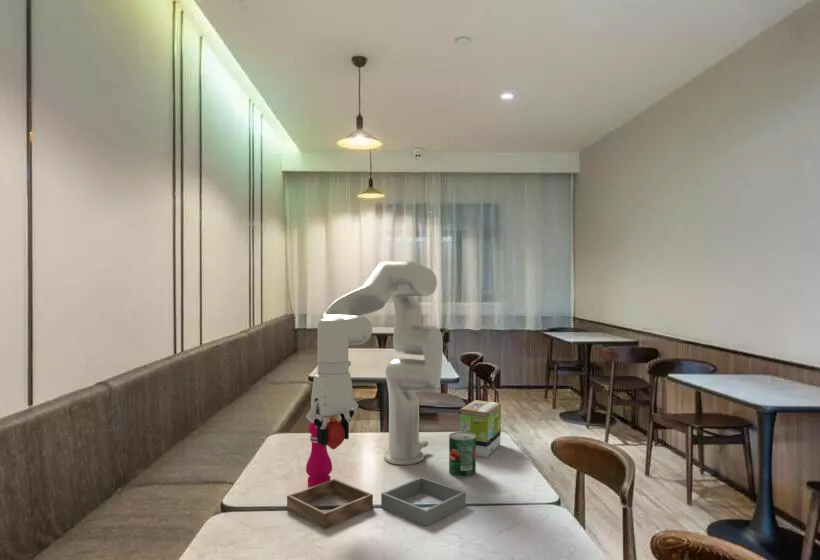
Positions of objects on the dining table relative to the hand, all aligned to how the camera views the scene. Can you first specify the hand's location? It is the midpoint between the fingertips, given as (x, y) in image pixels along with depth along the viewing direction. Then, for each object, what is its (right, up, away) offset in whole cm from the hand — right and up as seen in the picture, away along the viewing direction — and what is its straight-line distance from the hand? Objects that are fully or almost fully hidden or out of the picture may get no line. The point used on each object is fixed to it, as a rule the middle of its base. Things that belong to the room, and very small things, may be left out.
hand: (333, 440), depth 132 cm
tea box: (+43, -17, +47) cm, 66 cm away
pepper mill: (-6, -17, +17) cm, 25 cm away
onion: (0, -2, 0) cm, 2 cm away
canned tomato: (+34, -17, +25) cm, 46 cm away
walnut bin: (-1, -17, +1) cm, 17 cm away
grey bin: (+22, -17, +2) cm, 28 cm away
